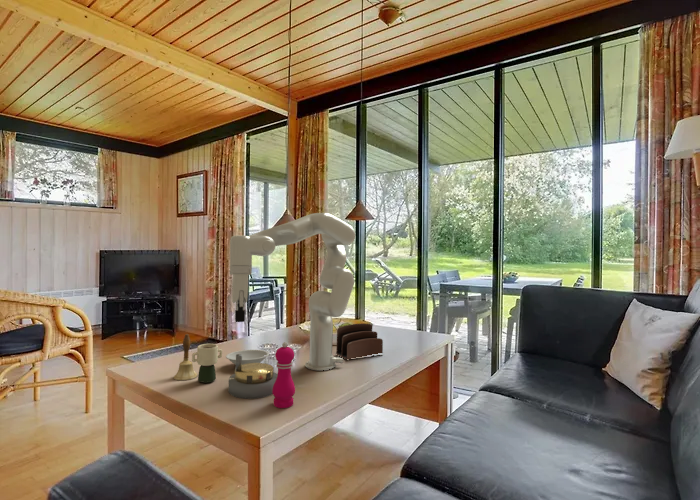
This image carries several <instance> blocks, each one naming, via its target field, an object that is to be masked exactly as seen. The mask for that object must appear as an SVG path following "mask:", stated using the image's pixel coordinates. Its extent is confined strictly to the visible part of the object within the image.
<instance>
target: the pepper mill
mask: <svg viewBox="0 0 700 500" xmlns="http://www.w3.org/2000/svg"><path fill="white" fill-rule="evenodd" d="M281 345H282V346H281V347H280V346H279V348H278V349H276V351H275V356H274V357H275V360H276V361H277V362H276V368H277V374H278V375H277V379H276V381H275V383H274V386H273V390H272V393H273V394H272V395H273V397H274V398H273V406H274V407H275V408H278V409H288V408H290V407H292V406H294V398H293V397H294V396H295V393H296V387H295V382H294V380H293V377H292V368H293V359H295V352H294V349H293V348H292V347H290V346H288V345H289V344H288V342H286V341H284V342H282V344H281Z"/></svg>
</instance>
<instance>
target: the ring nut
mask: <svg viewBox="0 0 700 500" xmlns="http://www.w3.org/2000/svg"><path fill="white" fill-rule="evenodd" d="M273 372H274V366H273V365H271V364H268V363H264V362H260V363H249V364H243V365H242V354H237V355H236V364H235V369H234V374H235V380H236V381H238V382H240V383H245V384H257V383H263V382H267V381H269V380H271V379H272V378H273Z"/></svg>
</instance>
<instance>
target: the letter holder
mask: <svg viewBox="0 0 700 500" xmlns="http://www.w3.org/2000/svg"><path fill="white" fill-rule="evenodd" d="M383 341H384V340H383V339H382V338H381V337H379V338H378V332H377V331H373V324H371V323H361V322H360V323H352V324H351V323H350V324H346V325H342V326H339V327H338V328H337V329H336V353H335V355H336V354H337V355H339V356H341V357H343V358H345V359H351V358H356V357H362V356H367V355H372V354H378V353H384V352H383V351H384V349H383V348H384V347H383V345H384V344H383V343H384V342H383ZM337 355H336V356H337ZM339 356H338V357H339ZM341 357H340V358H341ZM345 359H344V360H345Z"/></svg>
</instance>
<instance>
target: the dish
mask: <svg viewBox="0 0 700 500" xmlns="http://www.w3.org/2000/svg"><path fill="white" fill-rule="evenodd" d="M237 354H242V365H243V364H249V363H263V361H264V360H265V359H266V358H267V357H269V356H270V352H269V351H267V350H264V349H244V350H237V351H231V352H230V353H227V354H226V355H225V358H226V359H227V360H229V361H230V363H232V364H234V365H236V355H237ZM264 355H266V356H264Z"/></svg>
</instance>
